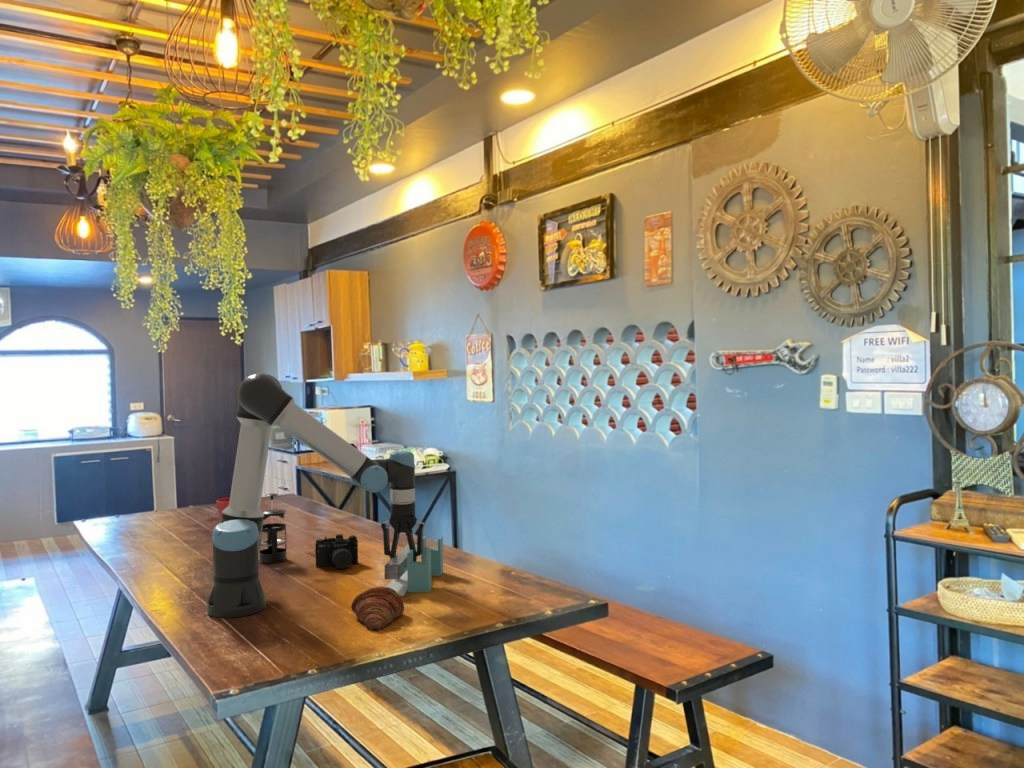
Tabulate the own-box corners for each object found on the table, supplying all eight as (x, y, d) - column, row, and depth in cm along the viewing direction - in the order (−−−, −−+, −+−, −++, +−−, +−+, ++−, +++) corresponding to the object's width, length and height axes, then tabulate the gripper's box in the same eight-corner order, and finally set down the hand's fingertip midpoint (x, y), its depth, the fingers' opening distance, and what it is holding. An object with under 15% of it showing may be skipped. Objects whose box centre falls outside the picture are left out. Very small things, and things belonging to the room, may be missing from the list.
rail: (398, 579, 216) (398, 565, 216) (384, 579, 217) (384, 565, 217) (420, 555, 244) (420, 543, 244) (408, 555, 245) (408, 543, 245)
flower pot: (211, 523, 325) (210, 501, 325) (227, 518, 335) (227, 496, 335) (232, 524, 322) (231, 501, 322) (248, 519, 332) (247, 497, 332)
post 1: (428, 592, 219) (428, 553, 218) (407, 592, 219) (407, 552, 219) (431, 588, 223) (430, 549, 222) (410, 588, 223) (410, 549, 223)
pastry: (422, 617, 197) (422, 587, 197) (375, 633, 186) (374, 601, 186) (382, 604, 208) (381, 576, 208) (335, 618, 197) (335, 588, 197)
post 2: (440, 575, 237) (440, 539, 236) (421, 575, 237) (421, 539, 237) (443, 572, 241) (442, 536, 240) (424, 572, 241) (423, 536, 241)
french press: (289, 562, 256) (288, 495, 255) (260, 565, 252) (259, 497, 251) (284, 554, 266) (283, 490, 266) (256, 558, 262) (255, 492, 262)
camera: (316, 573, 242) (316, 542, 242) (315, 565, 252) (314, 535, 252) (360, 569, 246) (360, 538, 246) (357, 561, 256) (356, 532, 256)
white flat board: (402, 596, 215) (402, 594, 215) (379, 595, 216) (379, 593, 216) (425, 568, 245) (425, 566, 245) (404, 568, 246) (404, 566, 246)
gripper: (432, 500, 233) (433, 575, 233) (379, 499, 235) (379, 574, 235) (427, 504, 226) (428, 581, 226) (372, 503, 227) (373, 580, 228)
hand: (403, 577), depth 231 cm, fingers closed on rail, 4 cm apart
